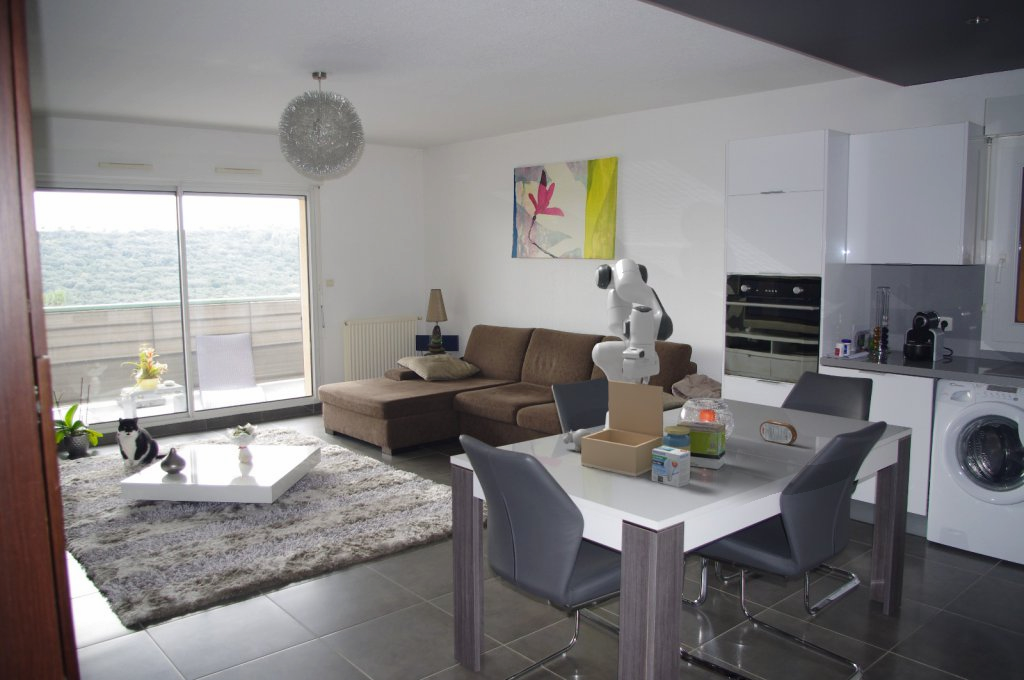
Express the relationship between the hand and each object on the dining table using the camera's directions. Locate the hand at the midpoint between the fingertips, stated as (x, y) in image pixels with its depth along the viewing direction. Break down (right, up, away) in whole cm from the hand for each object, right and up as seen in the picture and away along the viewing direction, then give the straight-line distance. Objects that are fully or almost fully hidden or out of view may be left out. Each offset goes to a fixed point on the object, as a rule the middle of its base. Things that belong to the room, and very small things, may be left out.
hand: (641, 389), depth 267 cm
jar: (+9, -27, -15) cm, 33 cm away
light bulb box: (+5, -29, -27) cm, 40 cm away
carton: (-9, -26, -7) cm, 29 cm away
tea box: (+20, -26, -6) cm, 33 cm away
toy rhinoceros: (-22, -25, +14) cm, 36 cm away
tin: (+58, -23, +23) cm, 66 cm away
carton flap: (-3, -7, -3) cm, 8 cm away
